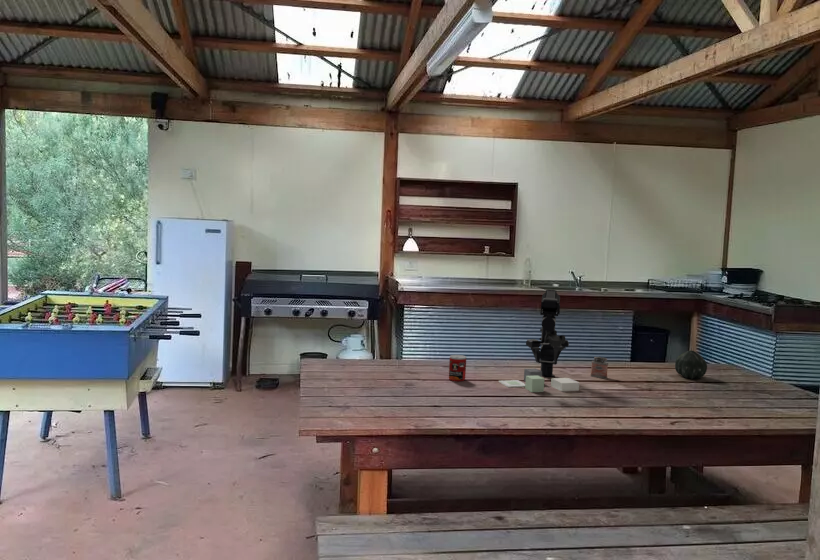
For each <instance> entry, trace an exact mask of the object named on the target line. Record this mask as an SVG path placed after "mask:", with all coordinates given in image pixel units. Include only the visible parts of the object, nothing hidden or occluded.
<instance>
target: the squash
mask: <svg viewBox="0 0 820 560" xmlns="http://www.w3.org/2000/svg"><path fill="white" fill-rule="evenodd" d="M674 369H675V371H676V373H677V374H678V375H680V376H683V378H685V379H691V380H692V379H696V380H699V379H701V378H702V377H704V376H705V375H706V373H707V370H708V364H707V361H706V360H705V357H703V356H702V355H700V354H699V352H696V351H694V350H687V351H685V352H683V353H681V354H680V355H678V356H677V357H676V359H675V364H674Z"/></svg>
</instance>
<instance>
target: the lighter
mask: <svg viewBox="0 0 820 560" xmlns="http://www.w3.org/2000/svg"><path fill="white" fill-rule="evenodd" d="M607 361H608V358H607V357H601V356H594V358H593V360H591V368H590V369H591V371H590V377H593V378H599V379H608V365H609V362H607Z"/></svg>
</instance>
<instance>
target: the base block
mask: <svg viewBox="0 0 820 560" xmlns="http://www.w3.org/2000/svg"><path fill="white" fill-rule="evenodd" d="M550 378H551V377H550ZM550 382H551V383H550V387H551V388H553V389H556V390H557V391H559V392H575V391H577V392H578V391H580V382H579V381H577V380H575V379H573V378H570V377H555V378H554V377H552V378H551V381H550Z"/></svg>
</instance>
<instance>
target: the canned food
mask: <svg viewBox="0 0 820 560" xmlns="http://www.w3.org/2000/svg"><path fill="white" fill-rule="evenodd" d="M448 363H449V364H448V380H449V381H452V382H464V381H465V380H466V373H467V371H466V370H467V356H466V355H462V354H451V355H449V361H448Z"/></svg>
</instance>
